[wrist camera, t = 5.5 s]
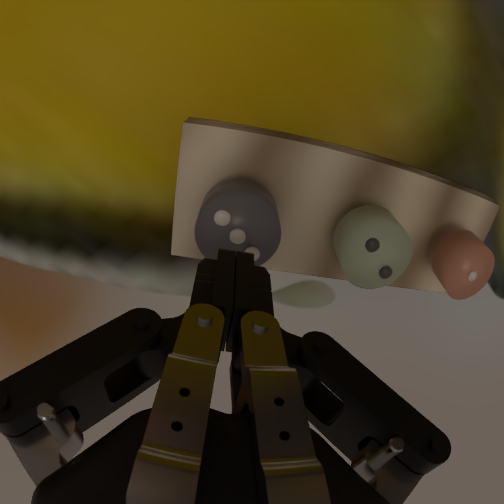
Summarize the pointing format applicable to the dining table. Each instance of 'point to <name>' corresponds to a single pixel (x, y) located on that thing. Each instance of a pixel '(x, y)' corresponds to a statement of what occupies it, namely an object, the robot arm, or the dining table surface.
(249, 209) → the button
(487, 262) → the button
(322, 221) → the button board
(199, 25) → the dining table surface
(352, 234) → the button
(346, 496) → the robot arm
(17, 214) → the dining table surface
